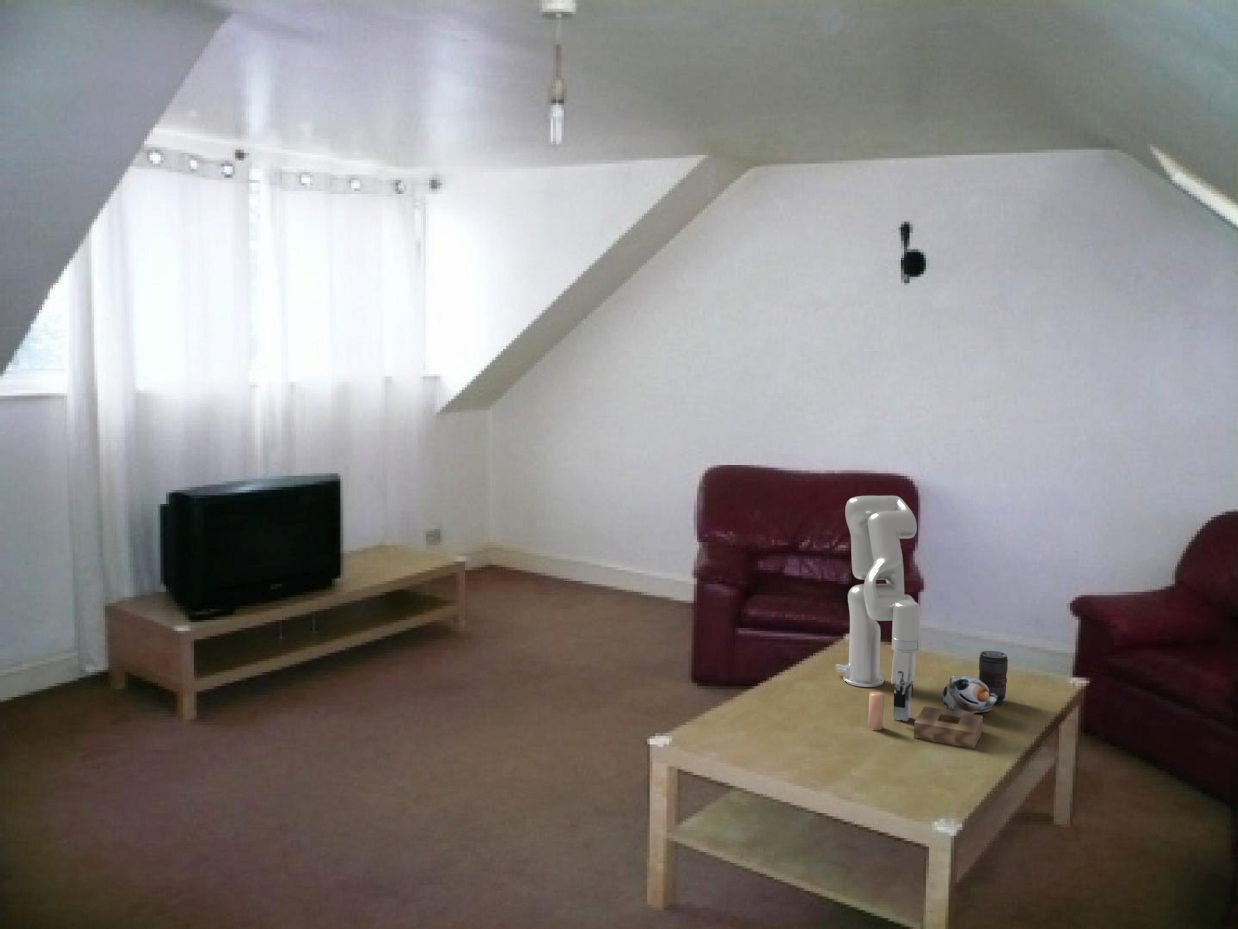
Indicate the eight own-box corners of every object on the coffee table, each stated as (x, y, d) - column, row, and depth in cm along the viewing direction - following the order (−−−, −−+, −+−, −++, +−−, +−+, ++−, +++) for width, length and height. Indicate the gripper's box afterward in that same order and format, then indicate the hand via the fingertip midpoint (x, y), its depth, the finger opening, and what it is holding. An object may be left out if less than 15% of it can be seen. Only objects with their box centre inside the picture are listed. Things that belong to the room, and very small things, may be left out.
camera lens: (1001, 697, 316) (1004, 650, 314) (1008, 707, 308) (1011, 658, 306) (974, 696, 317) (976, 649, 315) (980, 706, 309) (983, 657, 307)
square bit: (893, 719, 297) (894, 686, 296) (896, 715, 301) (897, 682, 300) (907, 722, 295) (908, 688, 294) (910, 717, 299) (911, 684, 298)
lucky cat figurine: (996, 707, 307) (1008, 675, 299) (982, 733, 299) (993, 701, 291) (948, 684, 314) (958, 653, 306) (933, 709, 306) (943, 678, 298)
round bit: (866, 729, 290) (867, 695, 289) (870, 724, 293) (871, 691, 292) (880, 732, 288) (882, 697, 287) (884, 727, 292) (885, 693, 290)
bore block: (913, 738, 284) (914, 722, 283) (923, 721, 296) (924, 706, 296) (974, 749, 277) (975, 732, 276) (982, 731, 289) (982, 715, 288)
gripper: (898, 635, 305) (896, 691, 306) (885, 650, 289) (883, 709, 291) (924, 638, 301) (922, 695, 303) (912, 653, 286) (910, 713, 288)
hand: (903, 701), depth 297 cm, fingers open, 9 cm apart
